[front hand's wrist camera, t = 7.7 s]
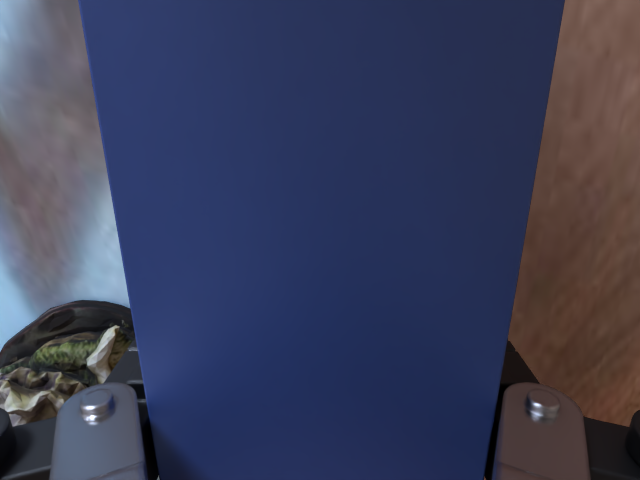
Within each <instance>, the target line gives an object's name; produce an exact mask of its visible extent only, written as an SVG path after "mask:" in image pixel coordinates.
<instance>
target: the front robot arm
mask: <svg viewBox="0 0 640 480" xmlns="http://www.w3.org/2000/svg"><path fill="white" fill-rule="evenodd" d="M158 475H159V472H158V467H157V461H156V455H155V449H154V443H153V437H152V431H151V425H150V419H149V414H148V408H147V402H146V396H145V390H144V384H143V378H142V372H141V367H140V361H139V355H138V349H137V343H136V337H135V341H132V343H131V344H130V346H129V347H128V350H127V351H125V353H124V354H123V356H122V357H121V359H120V360H119V361H118V363H117V364H116V366H115V367H114V369H113V370H112V371H111V373H110V374H109V376H108V377H107V379H106V380H105V381H104V383H102V384H98V385H94V386H91V387H88V388H86V389H84V390H82V391H80V392H78V393H76V394H75V395H73V396H72V397H70V398H69V399H68V400H67V401H66V402H65V403H64V404H63V405H62V406H61V408H60V409H59V411H58V414H57V417H53V418H49V419H45V420H40V421H36V422H31V423H27V424H22V425H18V426H12V423H11V420H10V416H9V414H8V412H7V411H5V410H4V409H2V408H0V480H157V478H158ZM484 476H485V478H486V480H640V410H638V411H637V412H636V413H634V415H633V417H632V420H631V423H630V427H626V426H622V425H617V424H612V423H608V422H603V421H599V420H594V419H591V418H587V417H584V416H583V414H582V411H581V409H580V408H579V406H578V405H577V404H576V403H575V402H574V401H573V400H572V399H571V398H570V397H568V396H567V395H565V394H564V393H562V392H560V391H558V390H556V389H554V388H552V387H549V386H546V385H542V384H540V383H539V382H538V380H537V379H536V378H535V376H534V375H533V373H532V372H531V370H530V369H529V368H528V366H527V365H526V363H525V362H524V361H523V359H522V358H521V356H520V355H519V353H518V352H516V351H515V348H514V346H513V345H512V344H511V342H510V341H508V339H507V345H506V351H505V357H504V363H503V369H502V375H501V381H500V386H499V392H498V398H497V404H496V410H495V416H494V422H493V428H492V434H491V440H490V446H489V452H488V457H487V463H486V469H485V475H484Z"/></svg>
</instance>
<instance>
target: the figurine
mask: <svg viewBox="0 0 640 480" xmlns="http://www.w3.org/2000/svg"><path fill="white" fill-rule="evenodd" d="M132 341H135V331H134V325H133V319H132V314H131V309H130V308H127V307H125V306H122V305H119V304H114V303H110V302H105V301H91V300H80V301H74V302H70V303H67V304H64V305H60V306H57V307H53V308H50V309H49V310H47V311H46V312H45V313H43V314H42V315H41V316H40V317H39V318H38V319H36V320H35V321H34V322H32V323H31V324H29V325H28V326H26V327H25V328H24V329H22V330H21V331H20V332H19V333H17V334H16V335H15V336H13V337H12V338H11V339H10V340H8V341H7V343H6V344H5V345H4V346H3V348H2V350H1V352H0V408H2V409H4V410H5V411H7V412H8V414H9V416H10V420H11V423H12V426H18V425H22V424H27V423H31V422H36V421H40V420H45V419H49V418H53V417H57V414H58V411H59V409H60V408H61V406H62V405H63V404H64V403H65V402H66V401H67V400H68V399H69V398H70V397H72V396H73V395H75V394H76V393H78V392H80V391H82V390H84V389H86V388H88V387H91V386H94V385H98V384H102V383H104V381H105V380H106V379H107V377H108V376H109V374H110V373H111V371H112V370H113V369H114V367H115V366H116V364H117V363H118V361H119V360H120V359H121V357H122V356H123V354H124V353H125V351H127V350H128V347H129V346H130V344H131V343H132Z"/></svg>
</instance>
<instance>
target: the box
mask: <svg viewBox="0 0 640 480" xmlns="http://www.w3.org/2000/svg"><path fill="white" fill-rule="evenodd" d="M78 2H79V7H80V13H81V19H82V25H83V31H84V37H85V43H86V49H87V55H88V60H89V66H90V72H91V78H92V84H93V90H94V96H95V102H96V108H97V113H98V119H99V125H100V131H101V137H102V143H103V149H104V155H105V161H106V166H107V172H108V178H109V184H110V190H111V196H112V202H113V208H114V213H115V219H116V225H117V231H118V237H119V243H120V249H121V255H122V261H123V266H124V272H125V278H126V284H127V290H128V296H129V302H130V308H131V314H132V319H133V325H134V331H135V337H136V343H137V349H138V355H139V361H140V367H141V372H142V378H143V384H144V390H145V396H146V402H147V408H148V414H149V419H150V425H151V431H152V437H153V443H154V449H155V455H156V461H157V467H158V472H159V478H160V480H484V475H485V469H486V463H487V457H488V452H489V446H490V440H491V434H492V428H493V422H494V416H495V410H496V404H497V398H498V392H499V386H500V381H501V375H502V369H503V363H504V357H505V351H506V345H507V339H508V333H509V327H510V321H511V316H512V310H513V304H514V298H515V292H516V286H517V280H518V274H519V268H520V262H521V256H522V250H523V245H524V239H525V233H526V227H527V221H528V215H529V209H530V203H531V197H532V191H533V185H534V179H535V174H536V168H537V162H538V156H539V150H540V144H541V138H542V132H543V126H544V120H545V114H546V108H547V103H548V97H549V91H550V85H551V79H552V73H553V67H554V61H555V55H556V49H557V43H558V38H559V32H560V26H561V20H562V14H563V8H564V2H565V0H78Z"/></svg>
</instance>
